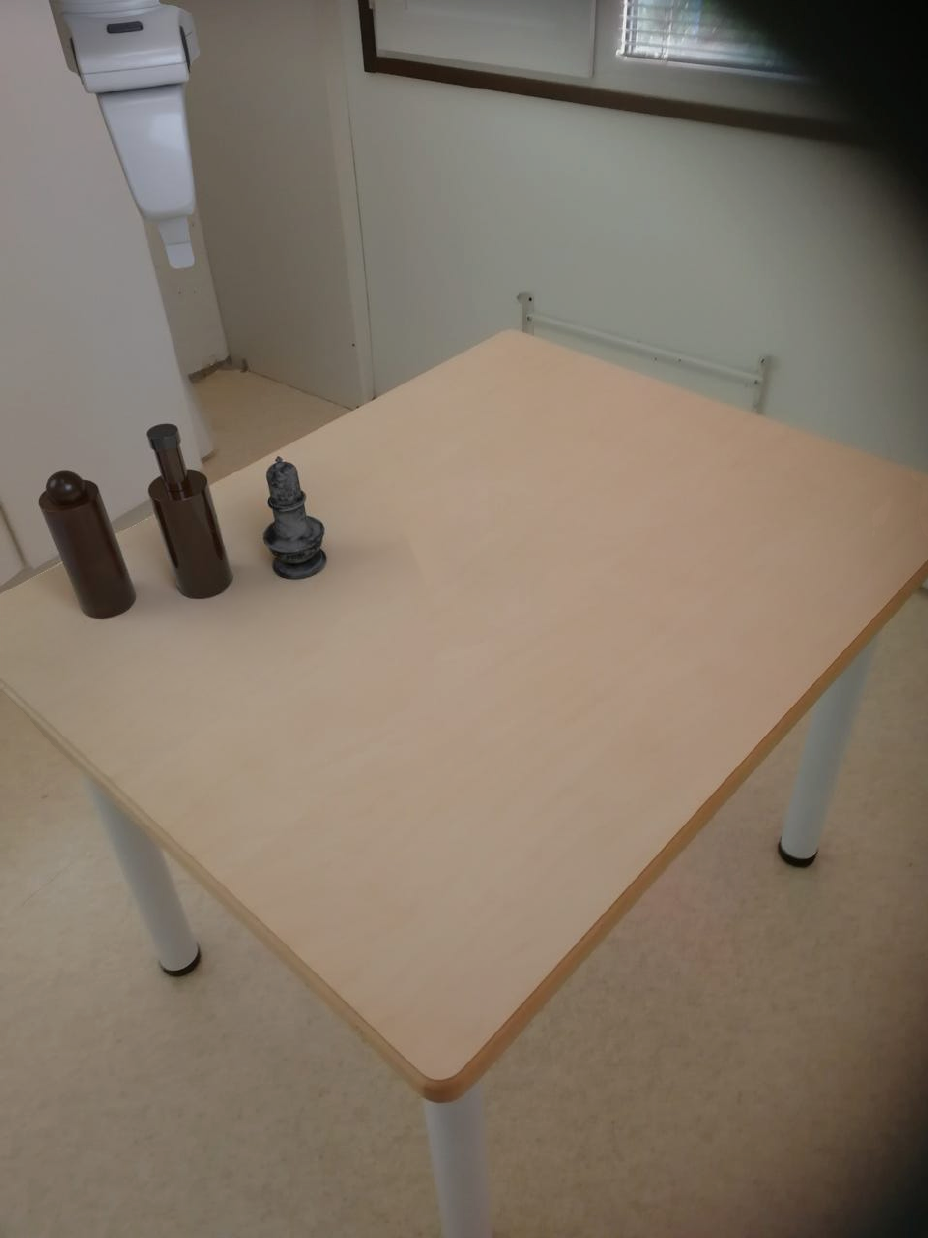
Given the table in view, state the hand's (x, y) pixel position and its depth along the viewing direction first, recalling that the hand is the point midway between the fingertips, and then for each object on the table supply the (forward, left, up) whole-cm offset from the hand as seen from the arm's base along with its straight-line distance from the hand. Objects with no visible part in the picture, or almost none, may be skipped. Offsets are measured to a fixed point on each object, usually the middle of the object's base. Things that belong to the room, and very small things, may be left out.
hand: (179, 242), depth 73 cm
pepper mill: (-14, -1, -31) cm, 34 cm away
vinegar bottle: (-5, -1, -31) cm, 32 cm away
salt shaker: (+4, -1, -31) cm, 32 cm away
